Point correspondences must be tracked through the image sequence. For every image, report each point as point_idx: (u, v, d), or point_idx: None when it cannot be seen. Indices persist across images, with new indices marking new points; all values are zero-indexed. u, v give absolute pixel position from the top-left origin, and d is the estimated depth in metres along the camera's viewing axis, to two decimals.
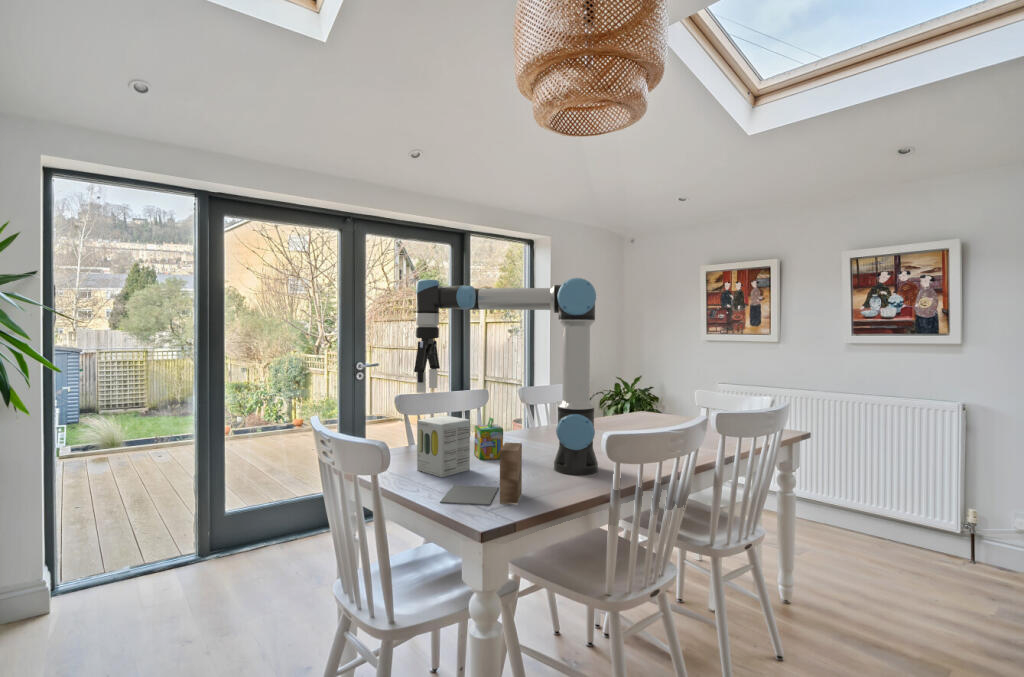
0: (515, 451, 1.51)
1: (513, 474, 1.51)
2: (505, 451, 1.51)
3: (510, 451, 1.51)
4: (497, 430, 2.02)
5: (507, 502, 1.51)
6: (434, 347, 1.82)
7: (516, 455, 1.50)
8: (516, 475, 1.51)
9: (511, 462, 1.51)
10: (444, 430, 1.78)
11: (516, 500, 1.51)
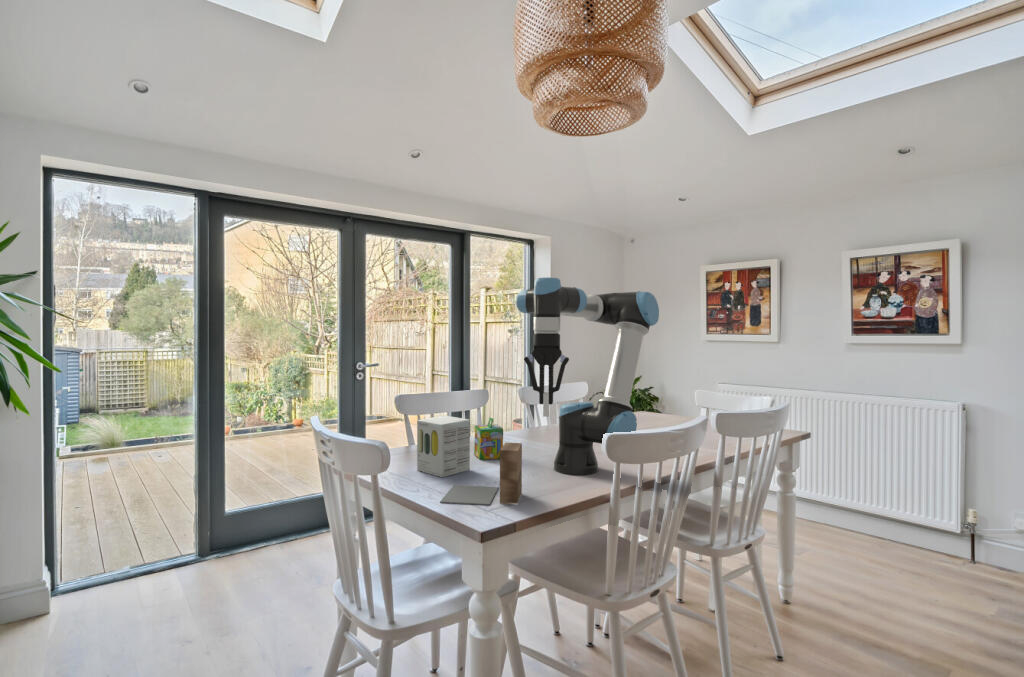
0: (515, 451, 1.51)
1: (513, 474, 1.51)
2: (505, 451, 1.51)
3: (510, 451, 1.51)
4: (497, 430, 2.02)
5: (507, 502, 1.51)
6: (550, 358, 1.52)
7: (516, 455, 1.50)
8: (516, 475, 1.51)
9: (511, 462, 1.51)
10: (444, 430, 1.78)
11: (516, 500, 1.51)
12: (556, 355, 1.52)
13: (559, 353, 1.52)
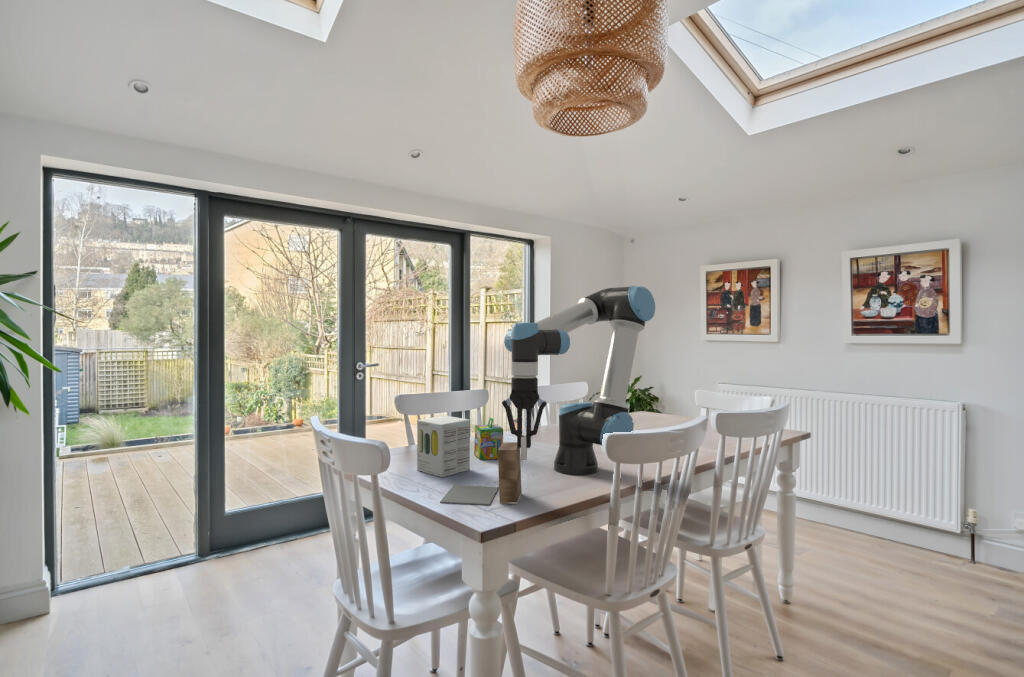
0: (513, 450, 1.51)
1: (512, 474, 1.51)
2: (503, 451, 1.51)
3: (508, 451, 1.51)
4: (497, 430, 2.02)
5: (507, 502, 1.51)
6: (527, 402, 1.53)
7: (514, 454, 1.51)
8: (515, 474, 1.51)
9: (509, 462, 1.51)
10: (444, 430, 1.78)
11: (516, 499, 1.51)
12: (534, 399, 1.53)
13: (537, 397, 1.53)
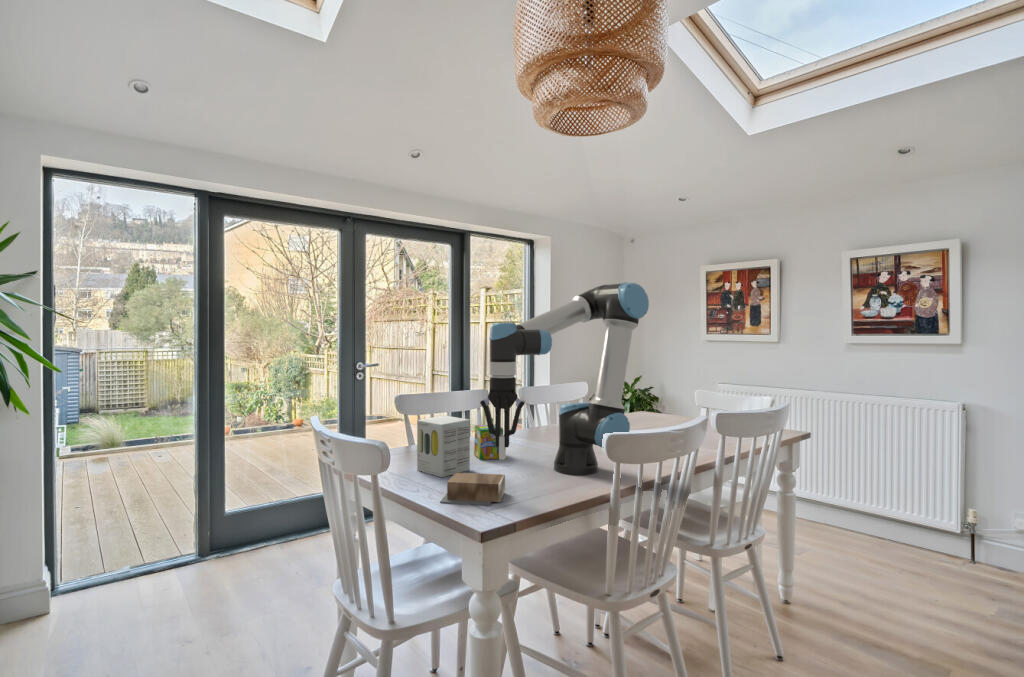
0: (448, 484, 1.53)
1: (470, 487, 1.52)
2: (448, 494, 1.53)
3: (448, 489, 1.53)
4: None
5: (498, 494, 1.51)
6: (505, 402, 1.54)
7: (451, 483, 1.53)
8: (471, 484, 1.52)
9: (458, 488, 1.53)
10: (444, 430, 1.78)
11: (495, 485, 1.51)
12: (512, 399, 1.54)
13: (514, 397, 1.54)
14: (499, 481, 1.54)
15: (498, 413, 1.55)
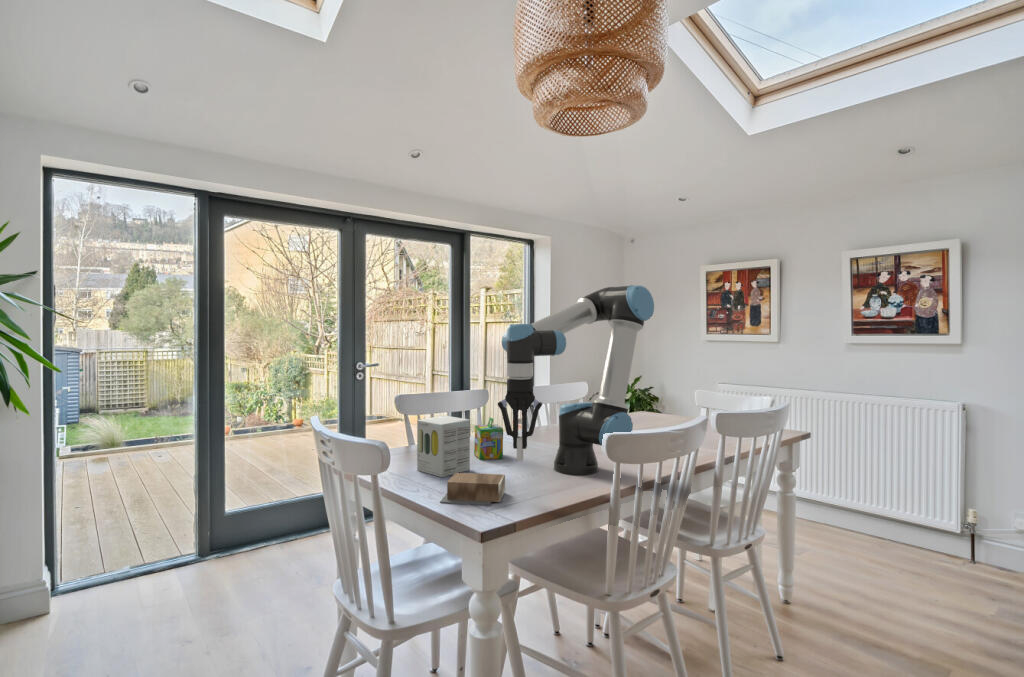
0: (448, 484, 1.53)
1: (470, 487, 1.52)
2: (448, 494, 1.53)
3: (448, 489, 1.53)
4: (497, 430, 2.02)
5: (498, 494, 1.51)
6: (522, 403, 1.53)
7: (451, 483, 1.53)
8: (471, 484, 1.52)
9: (458, 488, 1.53)
10: (444, 430, 1.78)
11: (495, 485, 1.51)
12: (529, 400, 1.54)
13: (532, 398, 1.54)
14: (499, 481, 1.54)
15: (515, 414, 1.54)
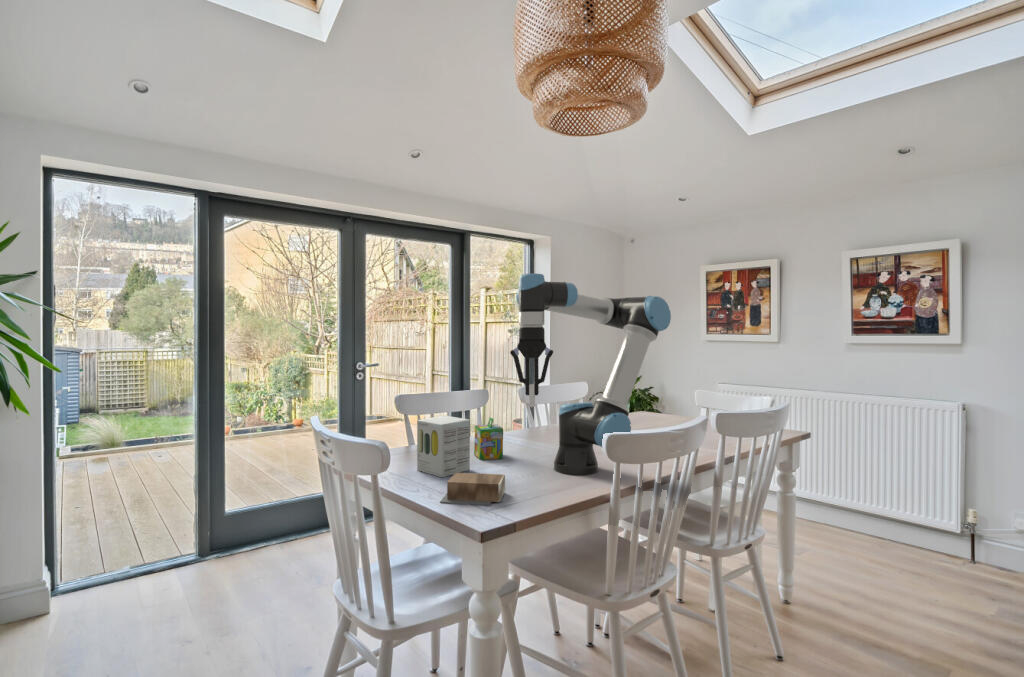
0: (448, 484, 1.53)
1: (470, 487, 1.52)
2: (448, 494, 1.53)
3: (448, 489, 1.53)
4: (497, 430, 2.02)
5: (498, 494, 1.51)
6: (535, 350, 1.58)
7: (451, 483, 1.53)
8: (471, 484, 1.52)
9: (458, 488, 1.53)
10: (444, 430, 1.78)
11: (495, 485, 1.51)
12: (541, 348, 1.59)
13: (544, 346, 1.59)
14: (499, 481, 1.54)
15: (528, 362, 1.59)
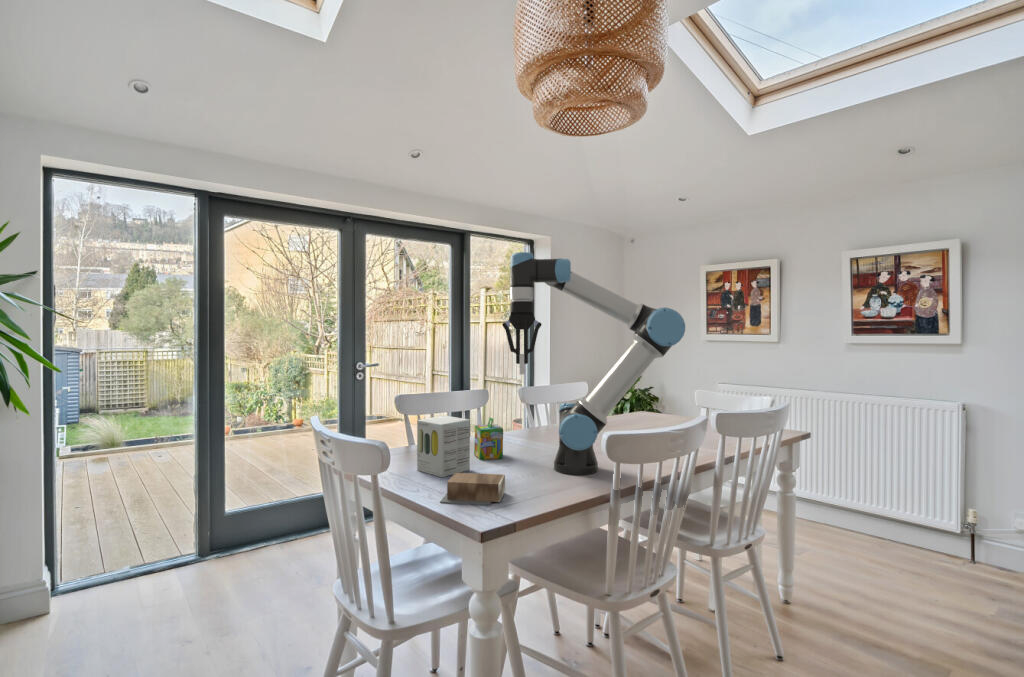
0: (448, 484, 1.53)
1: (470, 487, 1.52)
2: (448, 494, 1.53)
3: (448, 489, 1.53)
4: (497, 430, 2.02)
5: (498, 494, 1.51)
6: (525, 323, 1.73)
7: (451, 483, 1.53)
8: (471, 484, 1.52)
9: (458, 488, 1.53)
10: (444, 430, 1.78)
11: (495, 485, 1.51)
12: (530, 320, 1.74)
13: (533, 319, 1.74)
14: (499, 481, 1.54)
15: (518, 333, 1.74)
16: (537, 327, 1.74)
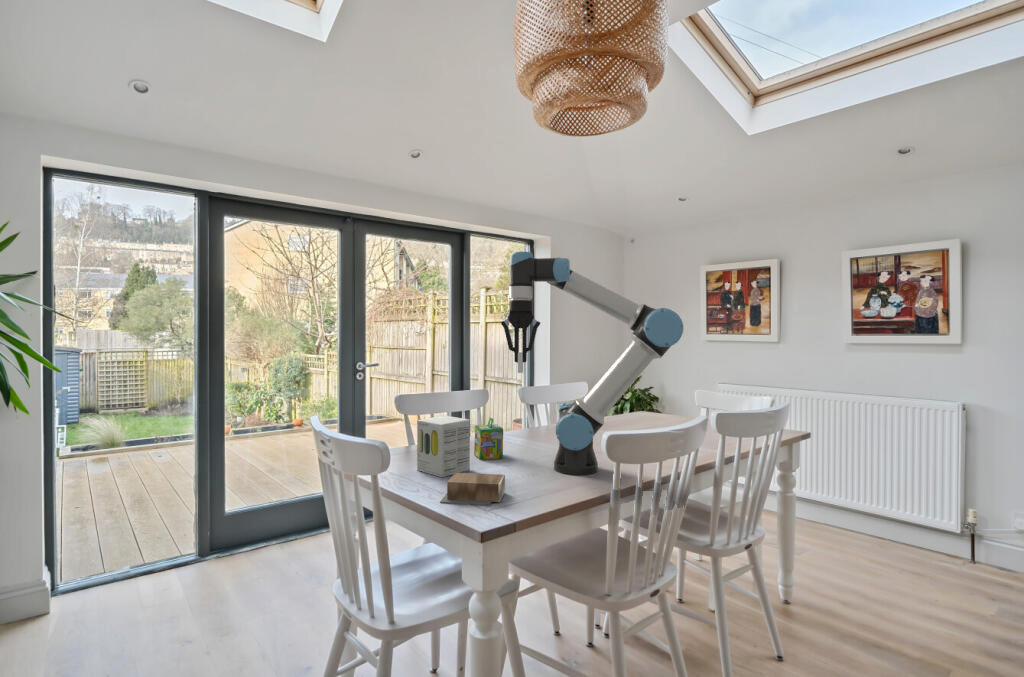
0: (448, 484, 1.53)
1: (470, 487, 1.52)
2: (448, 494, 1.53)
3: (448, 489, 1.53)
4: (497, 430, 2.02)
5: (498, 494, 1.51)
6: (523, 321, 1.75)
7: (451, 483, 1.53)
8: (471, 484, 1.52)
9: (458, 488, 1.53)
10: (444, 430, 1.78)
11: (495, 485, 1.51)
12: (529, 319, 1.75)
13: (531, 317, 1.75)
14: (499, 481, 1.54)
15: (517, 332, 1.76)
16: (535, 326, 1.75)
